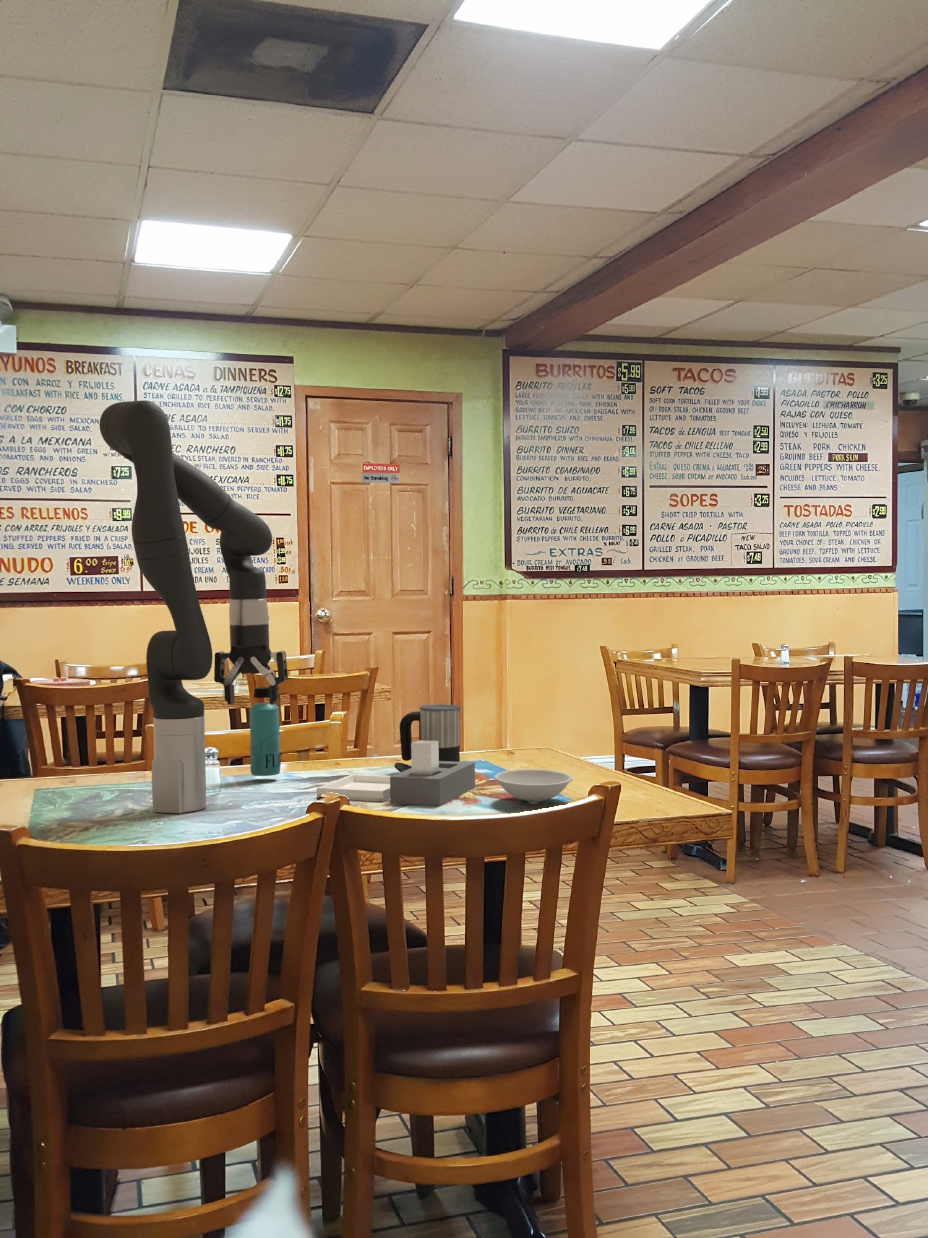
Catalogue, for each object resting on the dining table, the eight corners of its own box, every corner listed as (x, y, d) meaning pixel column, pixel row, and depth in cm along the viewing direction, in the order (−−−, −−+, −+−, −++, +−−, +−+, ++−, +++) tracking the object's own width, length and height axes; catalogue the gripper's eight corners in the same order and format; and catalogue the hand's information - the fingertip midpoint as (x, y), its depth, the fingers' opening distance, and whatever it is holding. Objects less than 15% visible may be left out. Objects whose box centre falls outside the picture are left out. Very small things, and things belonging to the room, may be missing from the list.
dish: (484, 797, 207) (484, 771, 207) (556, 792, 210) (555, 767, 210) (508, 815, 190) (508, 786, 190) (585, 810, 193) (585, 782, 193)
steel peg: (431, 801, 203) (430, 743, 203) (412, 800, 204) (411, 743, 204) (439, 797, 207) (438, 741, 206) (420, 796, 208) (419, 740, 208)
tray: (382, 801, 204) (382, 791, 204) (316, 798, 208) (316, 787, 208) (414, 786, 219) (414, 777, 219) (352, 783, 223) (352, 774, 223)
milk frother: (462, 769, 239) (461, 703, 239) (460, 782, 224) (459, 711, 223) (399, 770, 240) (397, 704, 239) (392, 783, 224) (391, 712, 223)
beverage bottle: (264, 784, 225) (262, 689, 224) (243, 781, 229) (241, 687, 228) (287, 779, 230) (285, 686, 229) (266, 776, 234) (264, 685, 233)
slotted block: (440, 806, 199) (439, 779, 199) (390, 803, 202) (390, 776, 202) (475, 787, 218) (474, 762, 217) (429, 784, 221) (428, 760, 221)
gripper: (207, 624, 207) (210, 707, 208) (278, 623, 205) (281, 707, 206) (220, 621, 215) (224, 701, 216) (289, 620, 213) (292, 701, 214)
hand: (252, 704), depth 211 cm, fingers open, 8 cm apart
